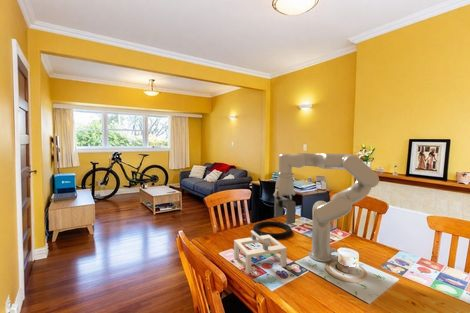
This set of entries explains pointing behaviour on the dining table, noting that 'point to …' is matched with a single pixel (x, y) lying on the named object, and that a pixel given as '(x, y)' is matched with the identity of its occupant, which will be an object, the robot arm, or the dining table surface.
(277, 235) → the cable lock
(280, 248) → the cream frame with rod
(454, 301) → the dining table surface
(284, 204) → the grey piece
